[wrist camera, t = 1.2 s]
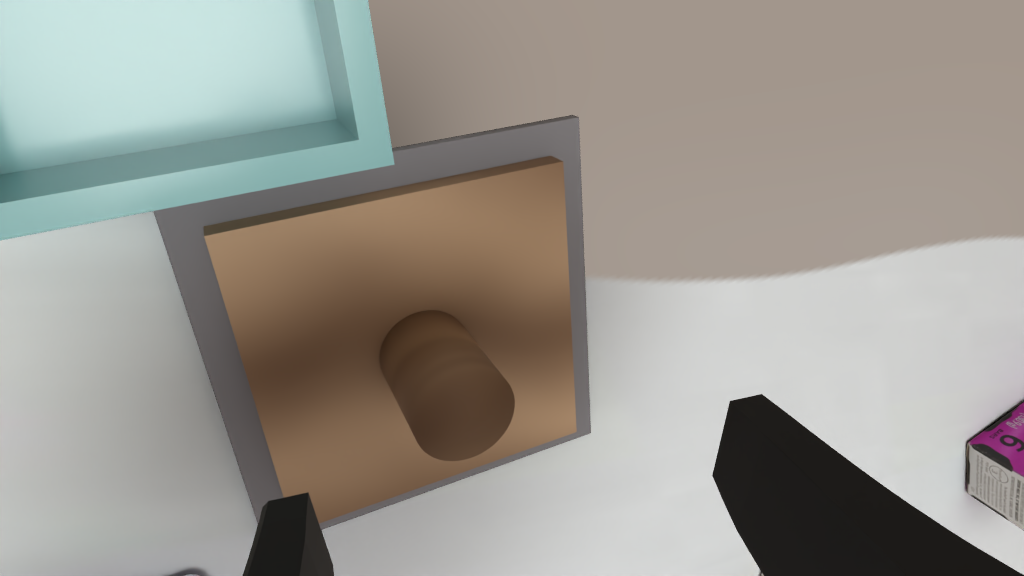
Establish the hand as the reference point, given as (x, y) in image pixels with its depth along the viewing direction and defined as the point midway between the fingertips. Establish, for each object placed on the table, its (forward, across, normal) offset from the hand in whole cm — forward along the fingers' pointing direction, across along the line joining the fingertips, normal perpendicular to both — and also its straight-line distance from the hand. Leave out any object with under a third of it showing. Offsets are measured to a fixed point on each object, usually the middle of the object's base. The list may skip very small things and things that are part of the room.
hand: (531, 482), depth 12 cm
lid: (+9, +1, +4) cm, 10 cm away
